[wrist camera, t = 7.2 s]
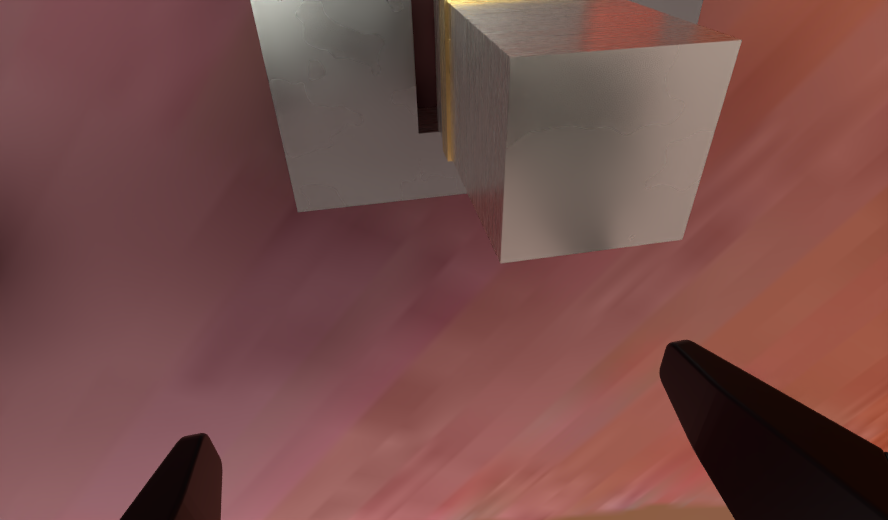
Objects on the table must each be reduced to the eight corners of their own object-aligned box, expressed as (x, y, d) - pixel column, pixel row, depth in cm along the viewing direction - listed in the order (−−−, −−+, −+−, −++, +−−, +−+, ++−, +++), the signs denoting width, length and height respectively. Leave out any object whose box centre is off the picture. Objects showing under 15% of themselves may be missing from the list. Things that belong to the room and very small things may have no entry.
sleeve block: (300, 180, 20) (297, 219, 18) (233, -140, 14) (214, -147, 12) (630, 146, 22) (667, 177, 20) (690, -149, 16) (753, -158, 14)
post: (434, 132, 16) (495, 268, 10) (429, -15, 14) (505, 51, 8) (559, 121, 17) (684, 242, 11) (575, -23, 14) (749, 33, 8)
